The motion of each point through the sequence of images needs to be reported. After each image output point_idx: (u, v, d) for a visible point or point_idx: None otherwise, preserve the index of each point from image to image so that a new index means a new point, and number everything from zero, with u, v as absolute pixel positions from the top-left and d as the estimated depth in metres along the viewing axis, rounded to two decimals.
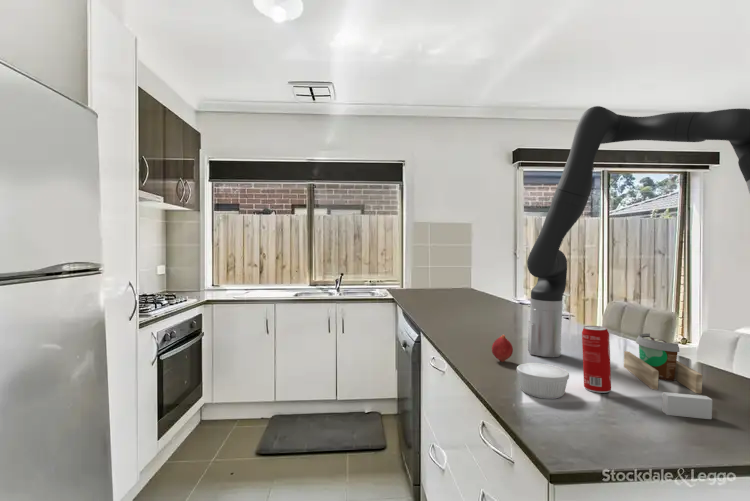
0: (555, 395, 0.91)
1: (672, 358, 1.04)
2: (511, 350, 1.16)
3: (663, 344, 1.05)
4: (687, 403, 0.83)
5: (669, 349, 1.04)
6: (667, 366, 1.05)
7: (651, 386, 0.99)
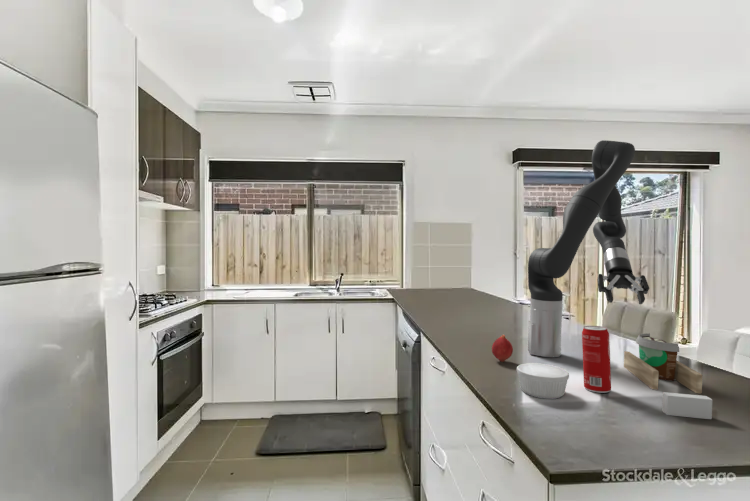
0: (555, 395, 0.91)
1: (672, 358, 1.04)
2: (511, 350, 1.16)
3: (663, 344, 1.05)
4: (687, 403, 0.83)
5: (669, 349, 1.04)
6: (667, 366, 1.05)
7: (651, 386, 0.99)
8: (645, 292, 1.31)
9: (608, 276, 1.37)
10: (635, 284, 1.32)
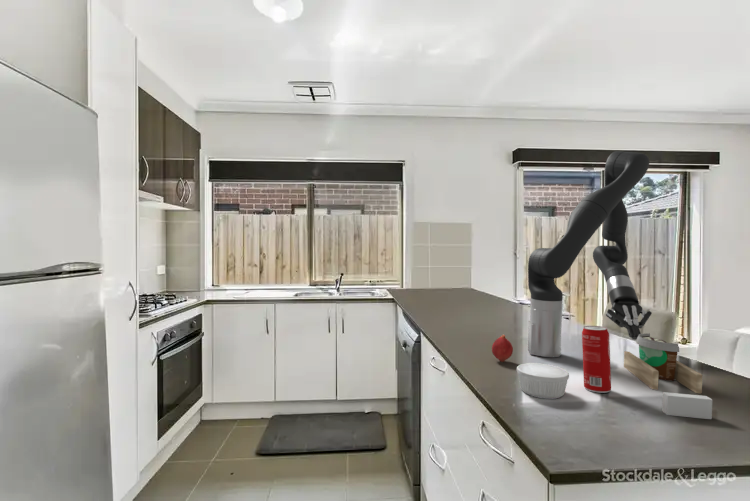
0: (555, 395, 0.91)
1: (672, 358, 1.04)
2: (511, 350, 1.16)
3: (662, 344, 1.05)
4: (687, 403, 0.83)
5: (669, 349, 1.04)
6: (667, 366, 1.05)
7: (651, 386, 0.99)
8: (640, 327, 1.24)
9: (615, 308, 1.28)
10: (634, 317, 1.24)
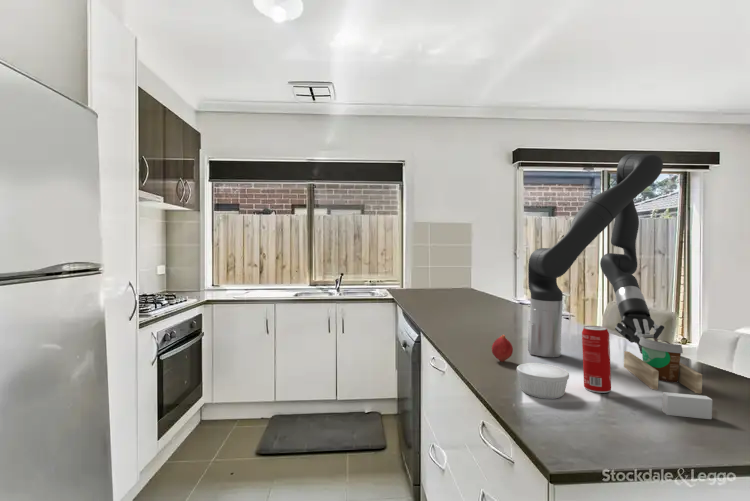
0: (555, 395, 0.91)
1: (675, 360, 1.03)
2: (511, 350, 1.16)
3: (665, 345, 1.04)
4: (687, 403, 0.83)
5: (672, 350, 1.03)
6: (670, 367, 1.04)
7: (651, 386, 0.99)
8: None
9: (625, 321, 1.20)
10: (646, 331, 1.16)
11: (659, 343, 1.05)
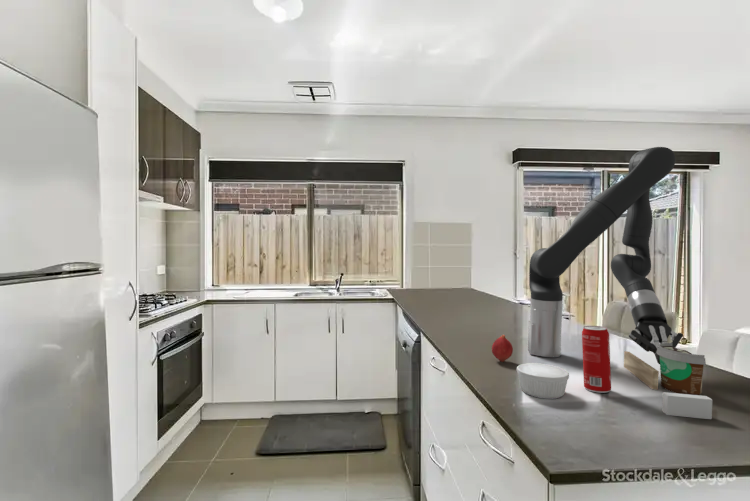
0: (555, 395, 0.91)
1: (697, 371, 0.93)
2: (511, 350, 1.16)
3: (686, 355, 0.94)
4: (687, 403, 0.83)
5: (694, 361, 0.93)
6: (692, 380, 0.94)
7: (651, 386, 0.99)
8: None
9: (640, 328, 1.11)
10: (663, 339, 1.07)
11: (679, 353, 0.95)
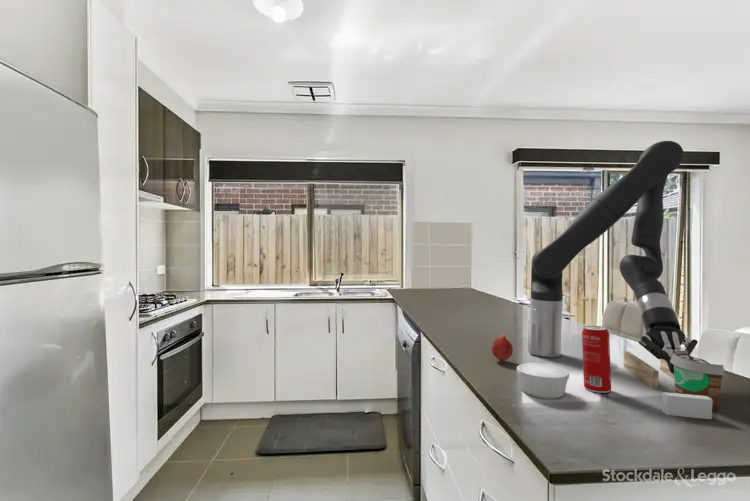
0: (555, 395, 0.91)
1: (715, 383, 0.86)
2: (511, 350, 1.16)
3: (703, 365, 0.87)
4: (687, 403, 0.83)
5: (711, 372, 0.86)
6: (709, 392, 0.87)
7: (651, 386, 0.99)
8: None
9: (651, 334, 1.03)
10: (676, 347, 0.99)
11: (695, 362, 0.88)
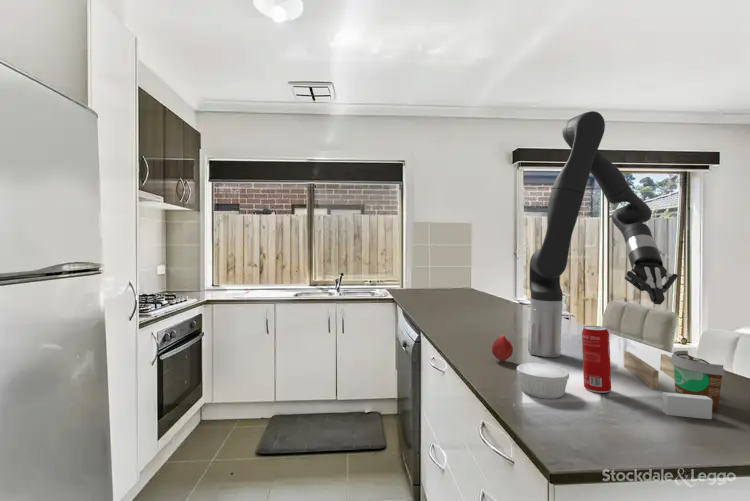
0: (555, 395, 0.91)
1: (715, 383, 0.86)
2: (511, 350, 1.16)
3: (703, 365, 0.87)
4: (687, 403, 0.83)
5: (711, 372, 0.86)
6: (709, 392, 0.87)
7: (651, 386, 0.99)
8: (664, 291, 1.09)
9: (636, 269, 1.14)
10: (658, 279, 1.10)
11: (695, 362, 0.88)
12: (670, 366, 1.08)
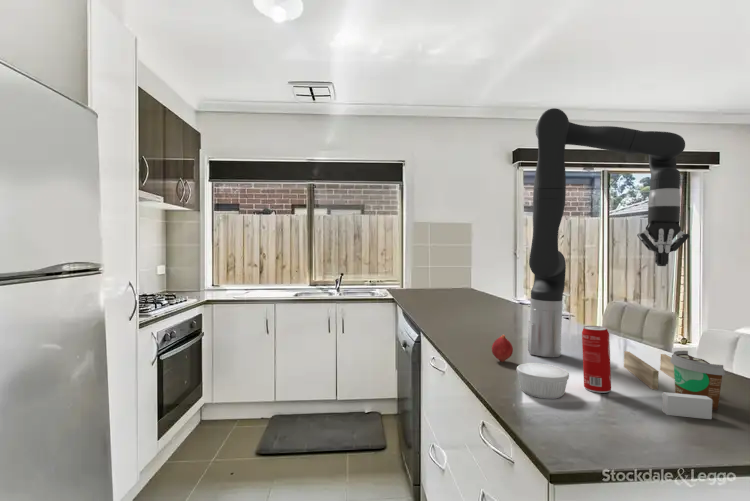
0: (555, 395, 0.91)
1: (715, 383, 0.86)
2: (511, 350, 1.16)
3: (703, 365, 0.87)
4: (687, 403, 0.83)
5: (711, 372, 0.86)
6: (709, 392, 0.87)
7: (651, 386, 0.99)
8: None
9: (650, 230, 1.17)
10: (668, 243, 1.15)
11: (695, 362, 0.88)
12: (670, 366, 1.08)
